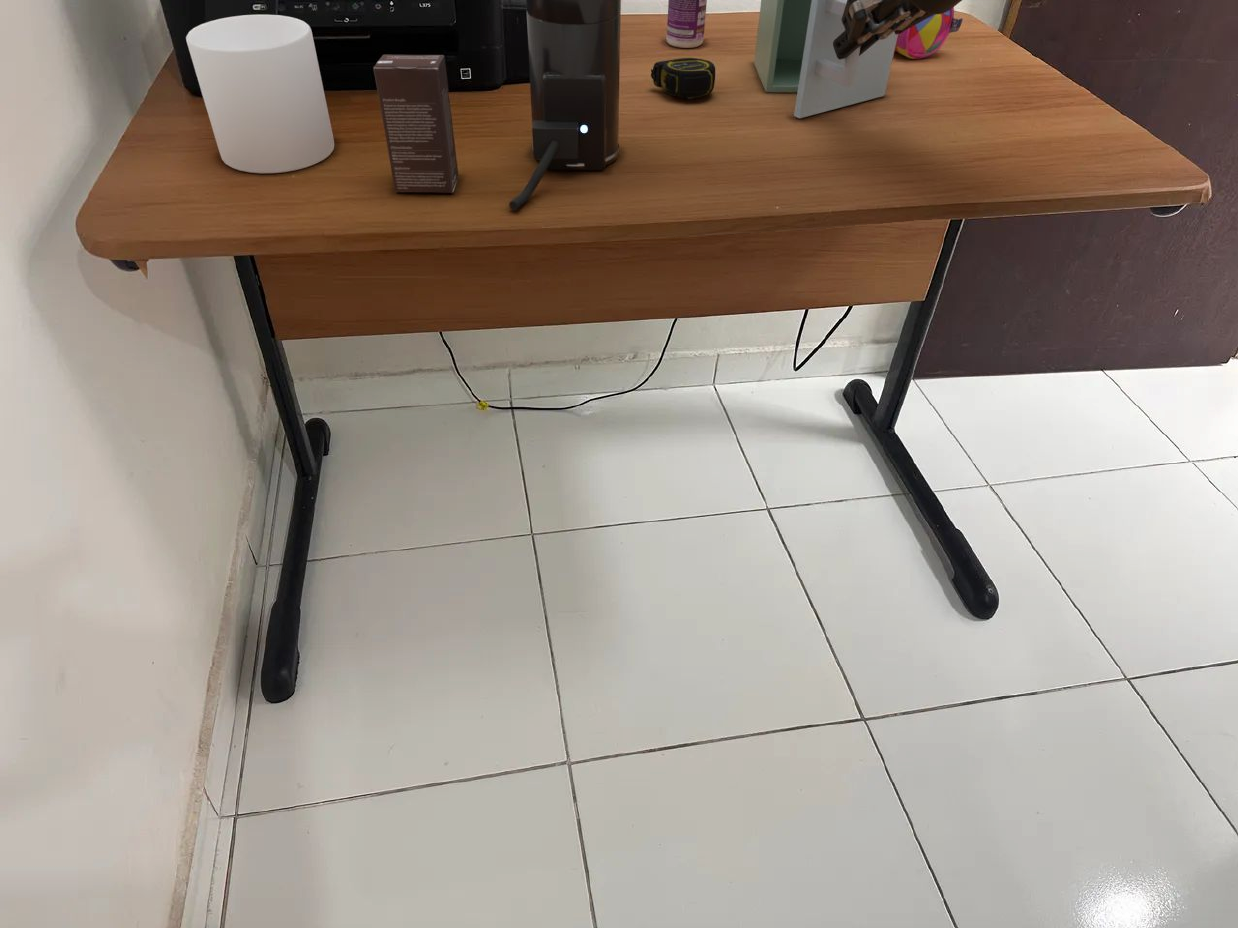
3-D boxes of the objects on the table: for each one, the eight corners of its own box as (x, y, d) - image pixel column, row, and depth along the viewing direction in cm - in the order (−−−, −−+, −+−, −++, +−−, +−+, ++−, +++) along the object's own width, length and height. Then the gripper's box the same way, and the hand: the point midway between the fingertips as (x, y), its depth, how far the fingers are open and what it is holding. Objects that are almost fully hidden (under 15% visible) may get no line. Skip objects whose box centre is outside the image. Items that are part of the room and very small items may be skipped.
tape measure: (697, 82, 112) (700, 51, 109) (723, 100, 107) (726, 68, 104) (649, 89, 110) (651, 57, 107) (673, 107, 105) (675, 75, 102)
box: (459, 176, 90) (446, 53, 81) (453, 195, 86) (438, 69, 78) (401, 175, 90) (382, 51, 81) (392, 194, 86) (371, 67, 78)
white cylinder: (356, 139, 96) (334, 22, 88) (292, 181, 88) (262, 57, 80) (266, 123, 99) (237, 9, 91) (197, 163, 91) (158, 41, 82)
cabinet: (880, 94, 110) (912, -56, 99) (765, 92, 109) (785, -58, 98) (860, 65, 118) (888, -76, 107) (753, 63, 117) (770, -78, 106)
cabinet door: (916, 109, 106) (954, -42, 95) (830, 133, 99) (859, -25, 88) (878, 93, 109) (910, -54, 98) (793, 116, 103) (817, -38, 92)
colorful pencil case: (957, 57, 121) (976, -15, 115) (904, 66, 118) (921, -7, 112) (860, 15, 135) (872, -50, 129) (810, 22, 132) (821, -45, 126)
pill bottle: (704, 49, 121) (710, -28, 115) (666, 48, 121) (670, -29, 115) (702, 37, 125) (708, -38, 119) (665, 36, 125) (669, -39, 119)
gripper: (998, -95, 83) (879, 10, 99) (893, -85, 77) (785, 25, 93) (1023, -20, 83) (900, 73, 99) (921, -5, 77) (808, 92, 93)
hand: (844, 50), depth 96 cm, fingers closed
